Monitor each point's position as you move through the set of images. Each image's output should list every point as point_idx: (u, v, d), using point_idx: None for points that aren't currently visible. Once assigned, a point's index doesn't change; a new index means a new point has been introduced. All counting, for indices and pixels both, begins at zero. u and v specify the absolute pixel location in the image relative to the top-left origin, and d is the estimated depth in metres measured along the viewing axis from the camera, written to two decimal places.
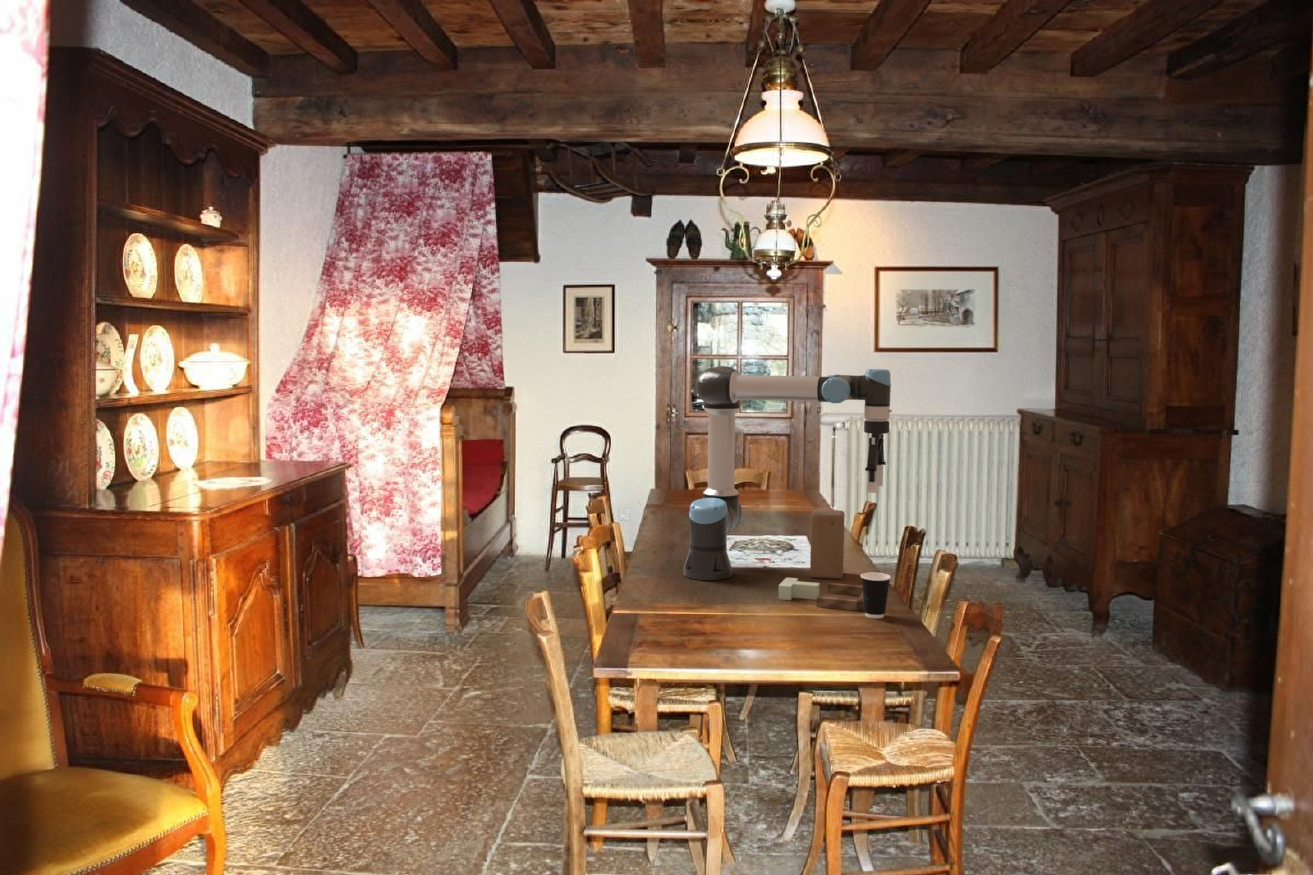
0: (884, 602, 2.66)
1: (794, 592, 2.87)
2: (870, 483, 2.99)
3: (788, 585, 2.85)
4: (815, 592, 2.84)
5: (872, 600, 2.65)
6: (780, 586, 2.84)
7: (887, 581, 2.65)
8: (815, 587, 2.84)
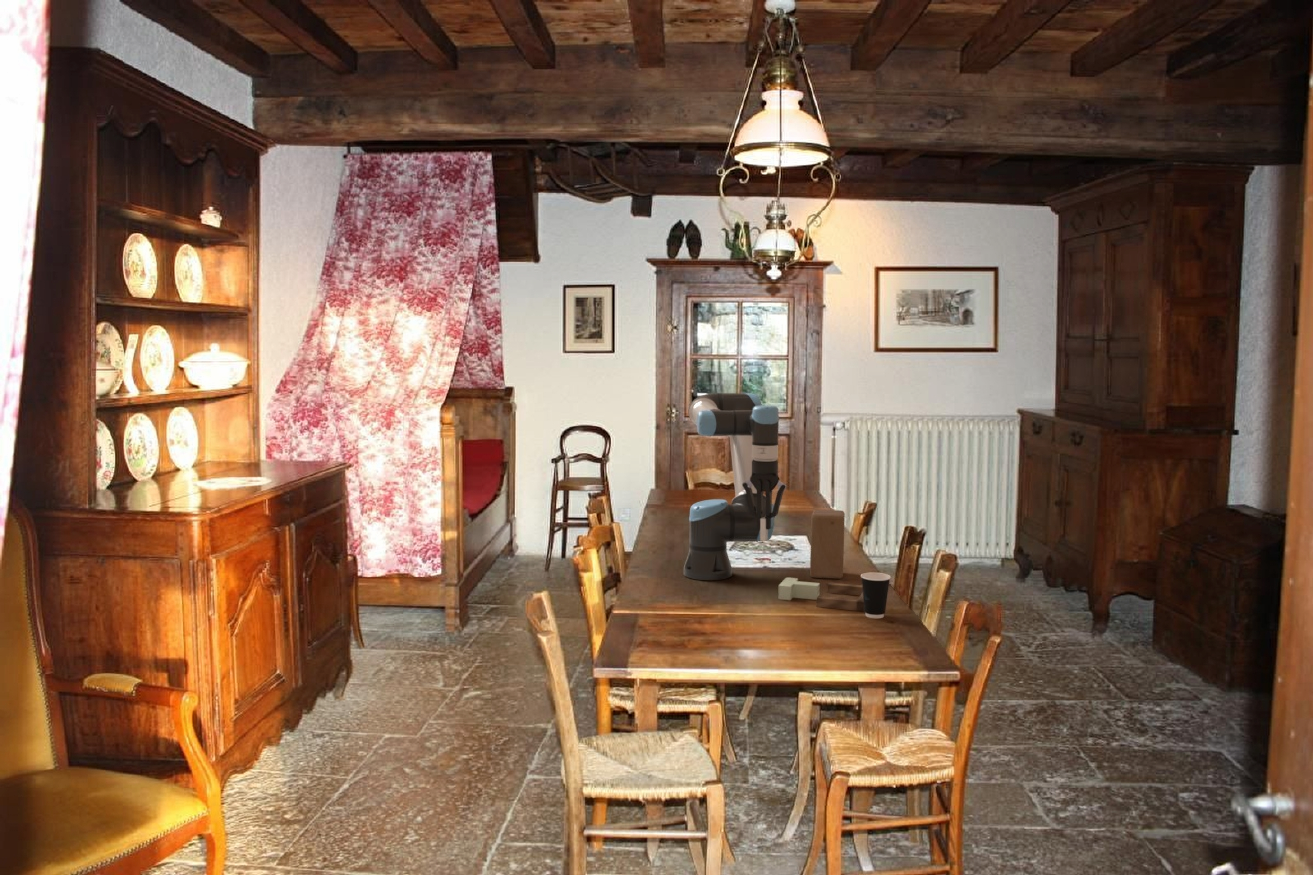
0: (884, 602, 2.66)
1: (794, 592, 2.87)
2: None
3: (788, 585, 2.85)
4: (815, 592, 2.84)
5: (872, 600, 2.65)
6: (780, 586, 2.84)
7: (887, 581, 2.65)
8: (815, 587, 2.84)
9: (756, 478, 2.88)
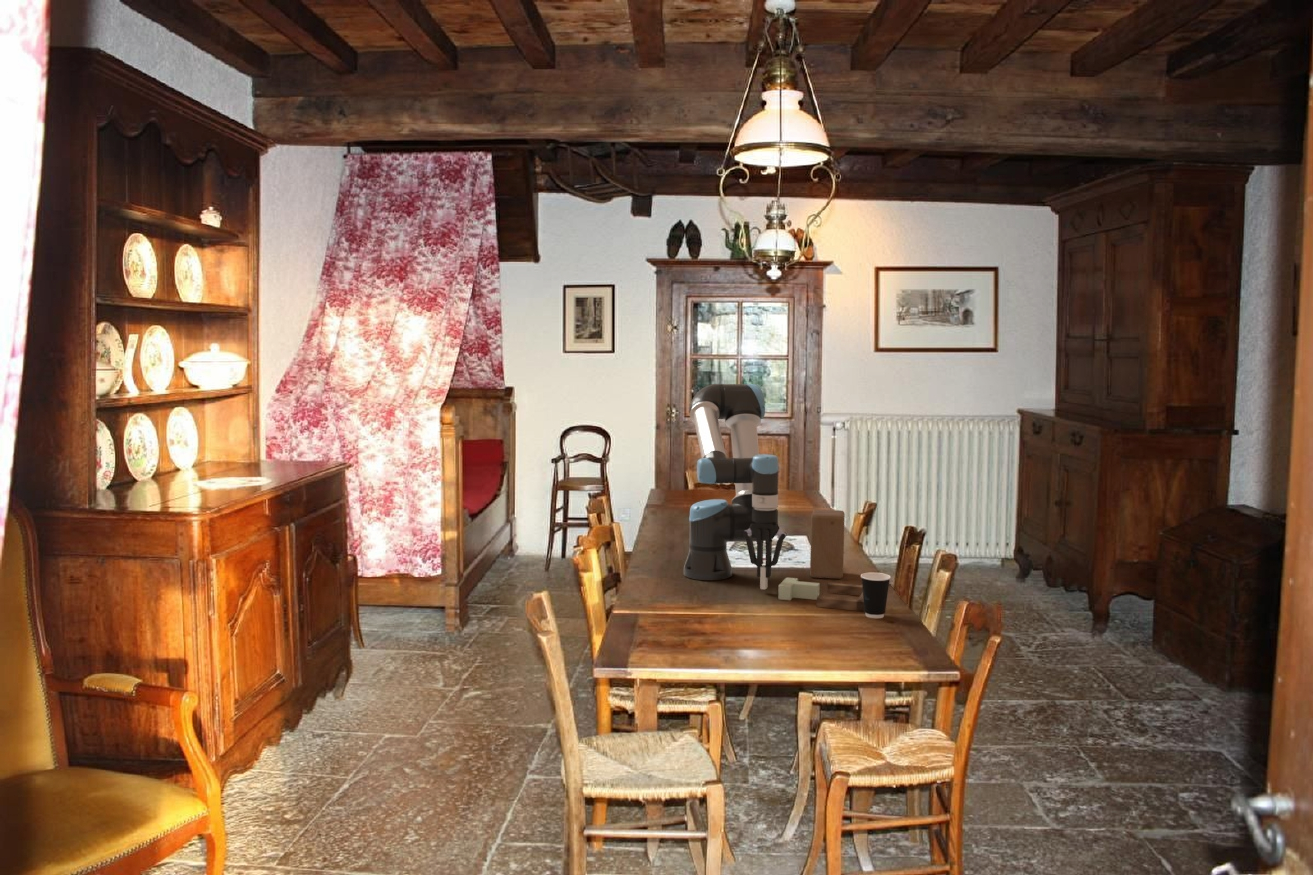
0: (884, 602, 2.66)
1: (794, 592, 2.87)
2: None
3: (788, 585, 2.85)
4: (815, 592, 2.84)
5: (872, 600, 2.65)
6: (780, 586, 2.84)
7: (887, 581, 2.65)
8: (815, 587, 2.84)
9: (756, 527, 2.89)
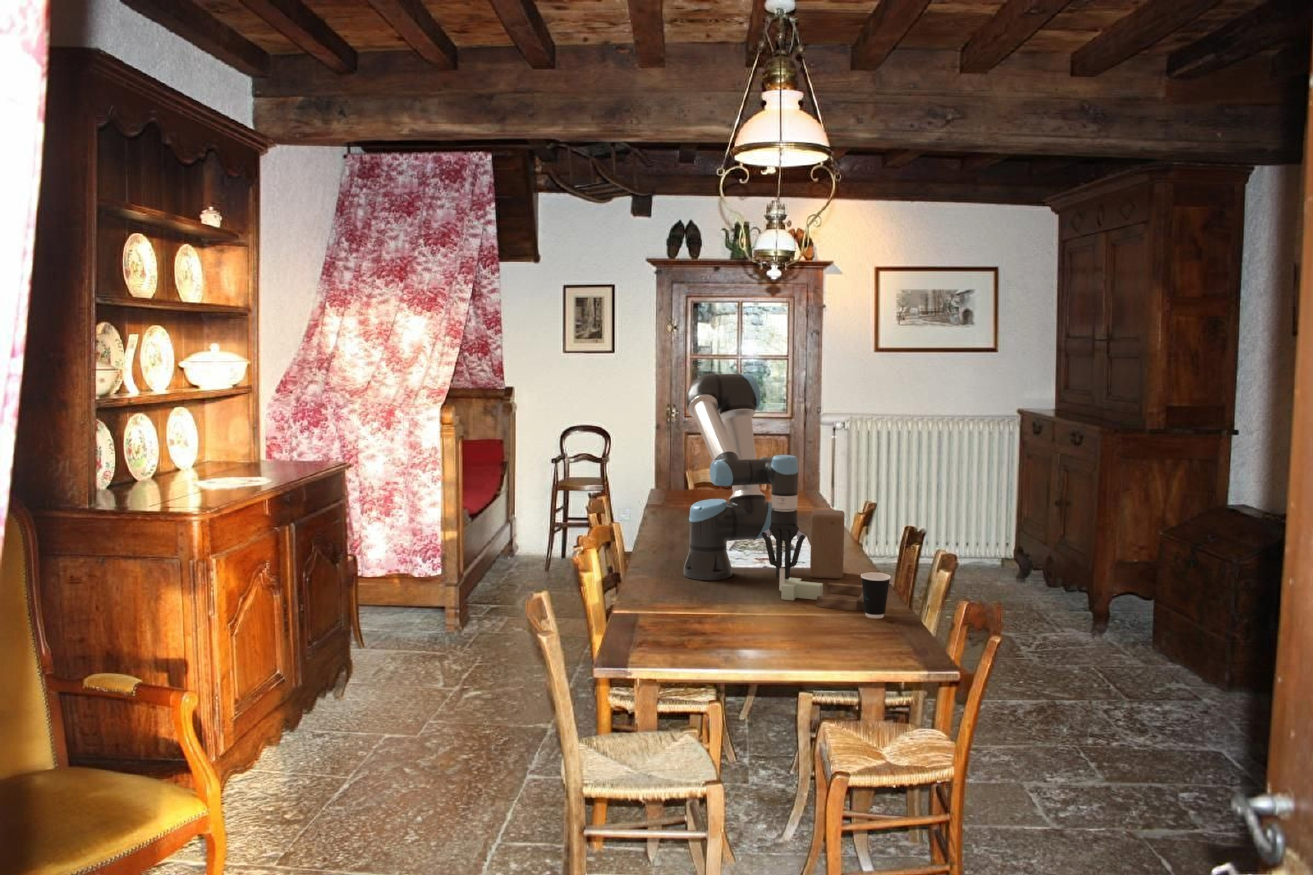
0: (884, 602, 2.66)
1: (797, 592, 2.86)
2: None
3: (791, 585, 2.84)
4: (818, 592, 2.84)
5: (872, 600, 2.65)
6: (783, 586, 2.84)
7: (887, 581, 2.65)
8: (818, 587, 2.84)
9: (775, 528, 2.87)
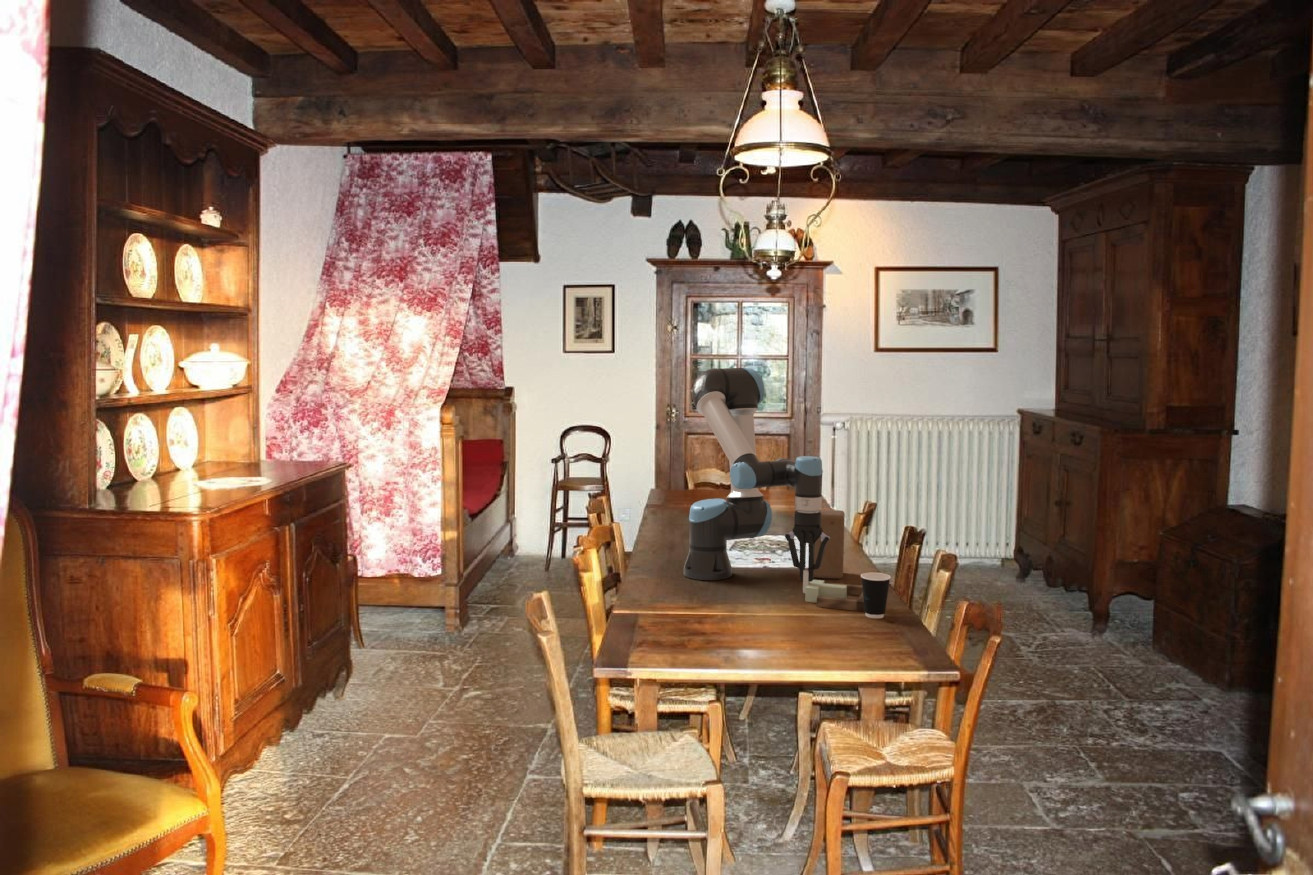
0: (884, 602, 2.66)
1: (821, 594, 2.84)
2: None
3: (815, 587, 2.82)
4: (842, 594, 2.82)
5: (872, 600, 2.65)
6: (807, 588, 2.82)
7: (887, 581, 2.65)
8: (842, 589, 2.82)
9: (799, 529, 2.85)
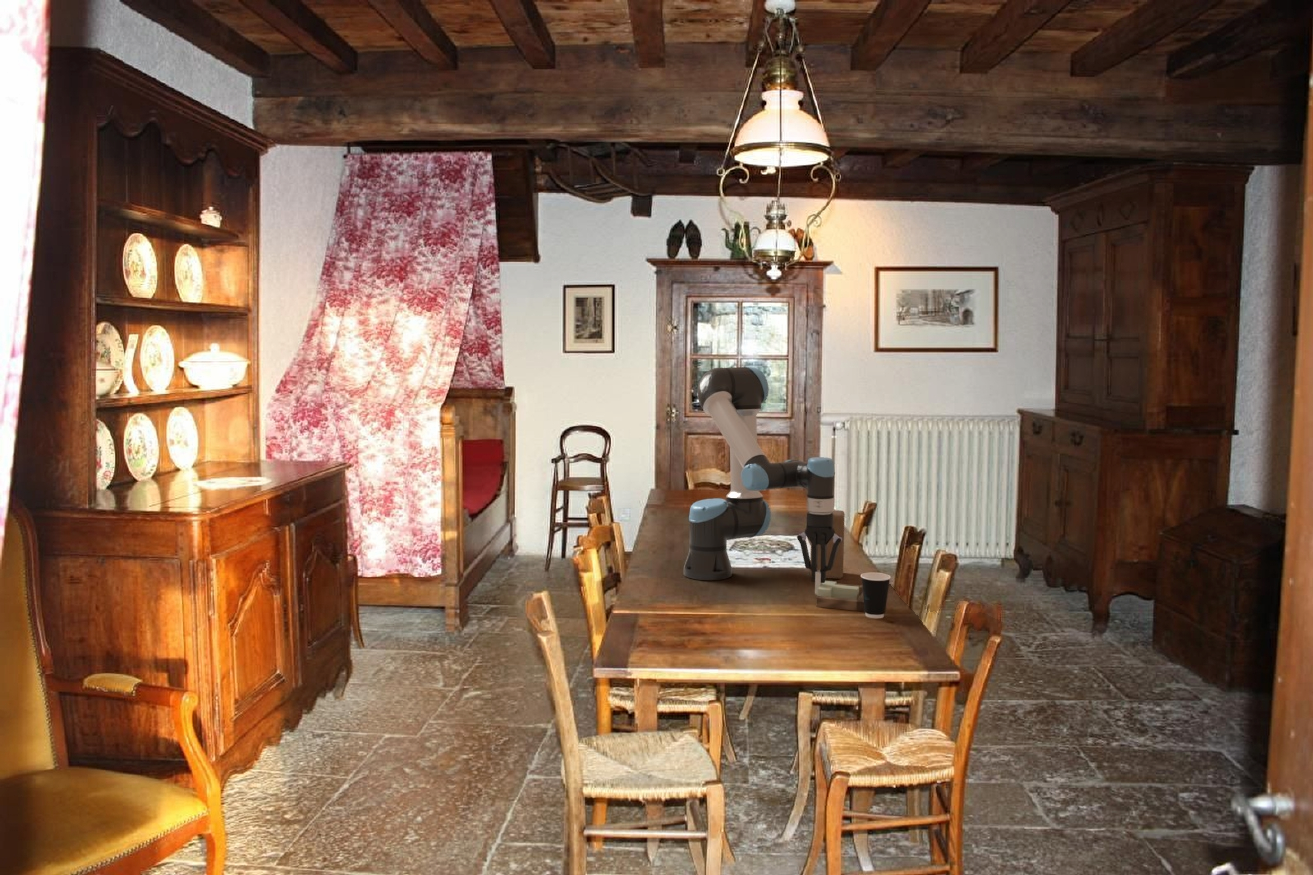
0: (884, 602, 2.66)
1: (833, 596, 2.83)
2: None
3: (827, 589, 2.81)
4: (855, 596, 2.81)
5: (872, 600, 2.65)
6: (819, 590, 2.81)
7: (887, 581, 2.65)
8: (855, 591, 2.80)
9: (811, 531, 2.84)
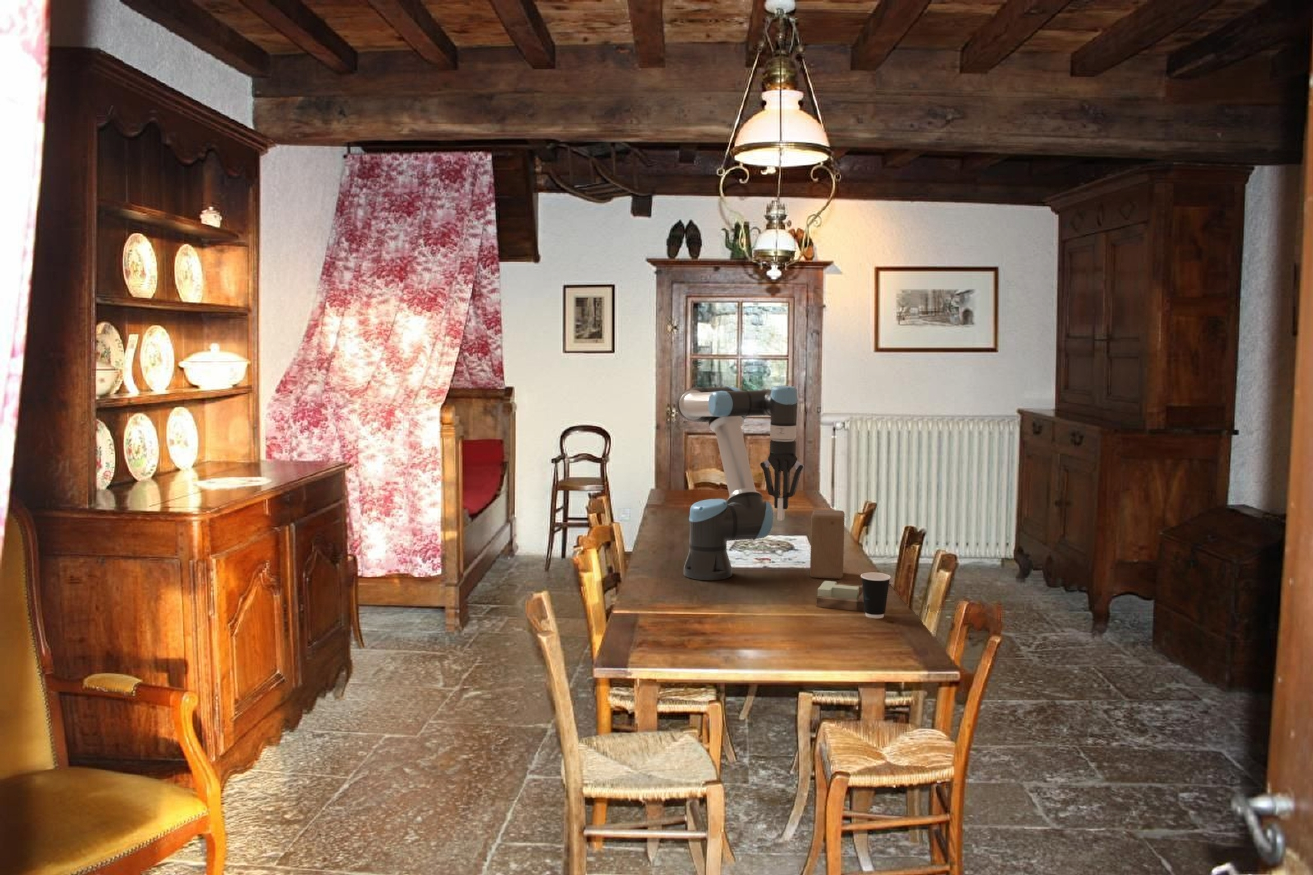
0: (884, 602, 2.66)
1: (833, 596, 2.83)
2: None
3: (827, 589, 2.81)
4: (855, 596, 2.81)
5: (872, 600, 2.65)
6: (819, 590, 2.81)
7: (887, 581, 2.65)
8: (855, 591, 2.80)
9: (774, 458, 2.89)
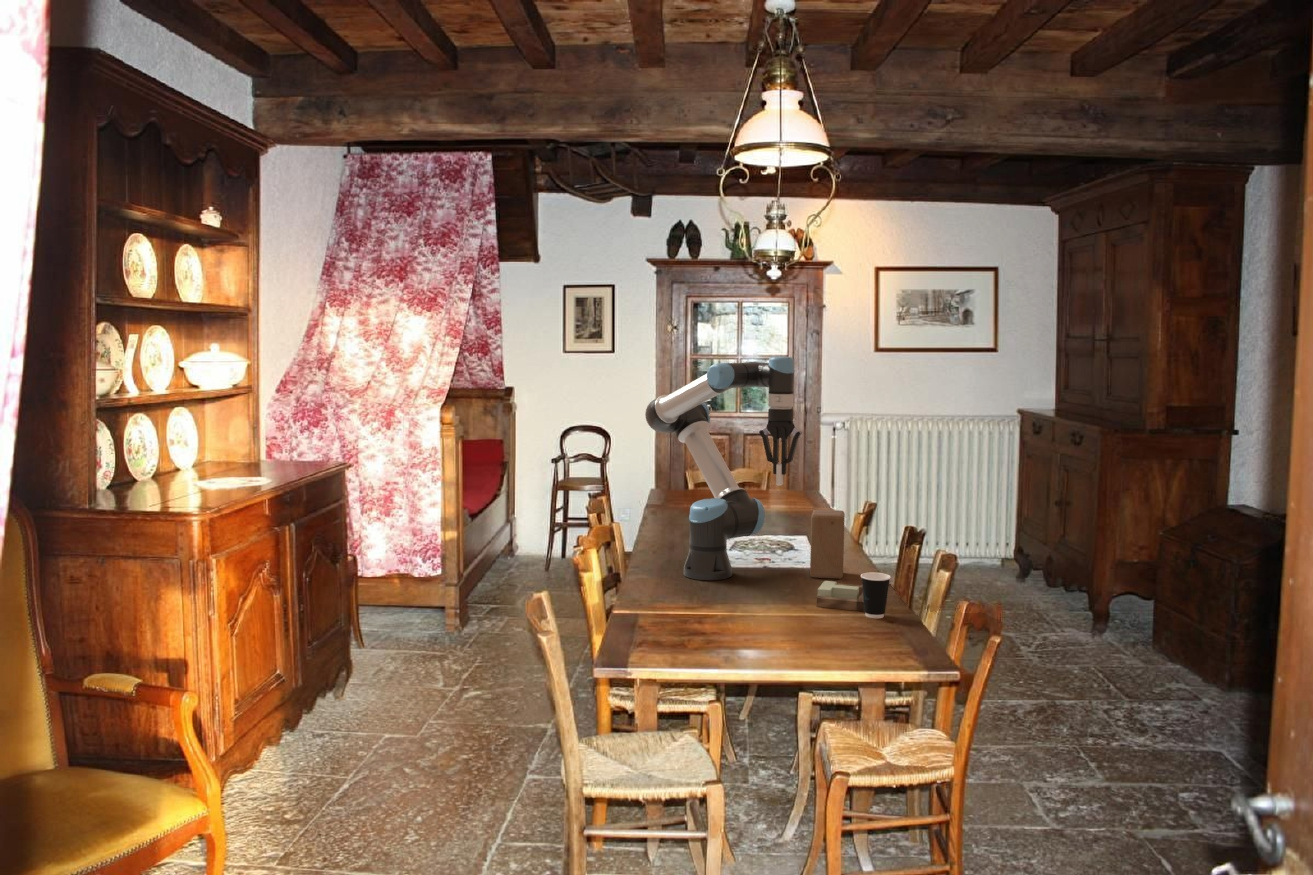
0: (884, 602, 2.66)
1: (833, 596, 2.83)
2: None
3: (827, 589, 2.81)
4: (855, 596, 2.81)
5: (872, 600, 2.65)
6: (819, 590, 2.81)
7: (887, 581, 2.65)
8: (855, 591, 2.80)
9: (772, 426, 3.02)
